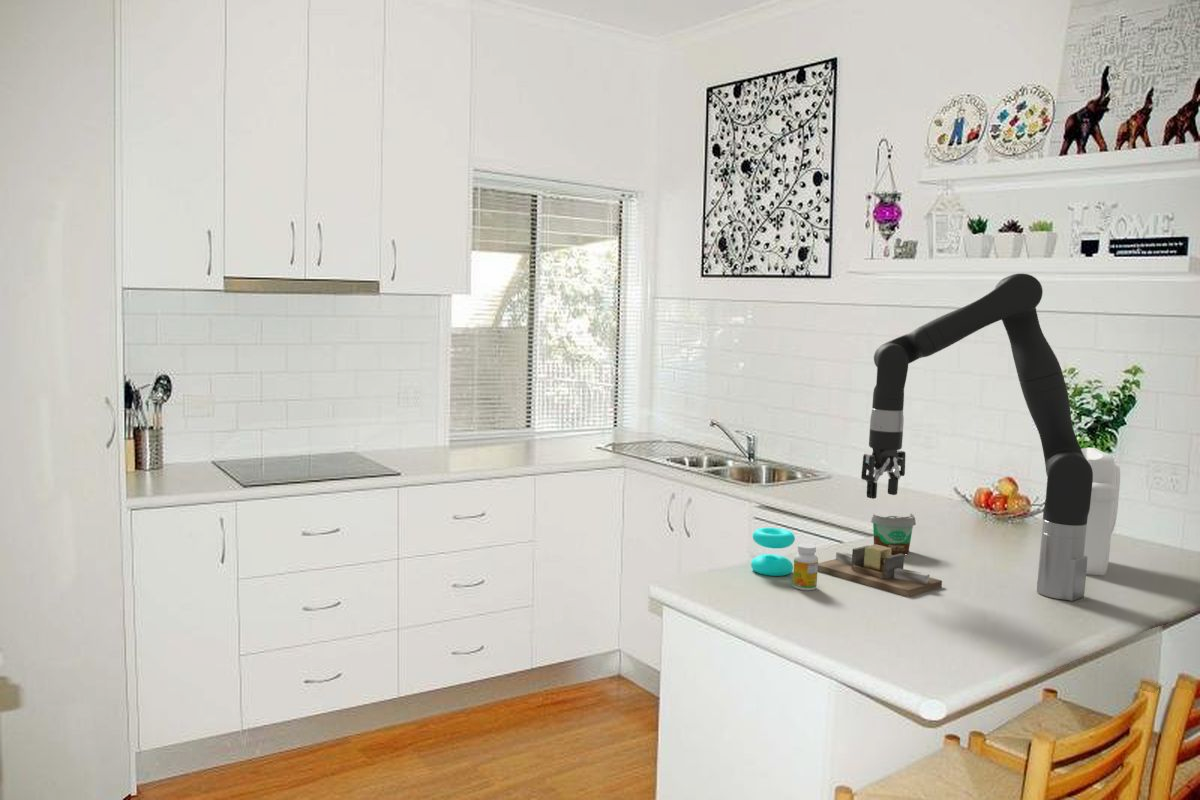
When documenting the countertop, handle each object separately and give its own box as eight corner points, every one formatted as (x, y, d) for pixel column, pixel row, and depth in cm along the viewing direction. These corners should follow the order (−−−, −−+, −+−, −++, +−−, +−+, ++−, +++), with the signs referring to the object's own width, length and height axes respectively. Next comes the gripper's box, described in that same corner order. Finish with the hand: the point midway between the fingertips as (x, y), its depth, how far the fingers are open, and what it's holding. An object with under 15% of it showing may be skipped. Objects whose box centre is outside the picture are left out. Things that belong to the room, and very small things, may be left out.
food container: (881, 557, 258) (884, 519, 257) (868, 551, 264) (871, 514, 263) (923, 556, 262) (925, 518, 260) (910, 550, 267) (912, 513, 266)
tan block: (893, 573, 237) (895, 549, 237) (882, 576, 234) (884, 551, 234) (870, 567, 242) (872, 543, 241) (859, 570, 239) (861, 545, 239)
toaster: (1126, 582, 243) (1138, 460, 240) (1077, 577, 246) (1088, 457, 242) (1095, 554, 270) (1105, 444, 267) (1051, 551, 272) (1060, 442, 269)
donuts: (750, 533, 236) (755, 524, 246) (748, 574, 237) (753, 564, 247) (793, 537, 234) (796, 528, 243) (790, 579, 235) (794, 568, 244)
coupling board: (941, 586, 233) (943, 559, 232) (907, 596, 224) (909, 568, 223) (848, 561, 253) (850, 536, 252) (814, 570, 244) (815, 544, 243)
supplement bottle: (787, 585, 230) (790, 543, 229) (807, 583, 232) (809, 542, 231) (801, 591, 225) (803, 549, 224) (821, 589, 227) (823, 547, 226)
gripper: (882, 432, 227) (878, 502, 229) (917, 428, 236) (912, 495, 238) (854, 428, 233) (850, 496, 234) (889, 424, 242) (885, 490, 244)
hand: (882, 496), depth 236 cm, fingers open, 8 cm apart
